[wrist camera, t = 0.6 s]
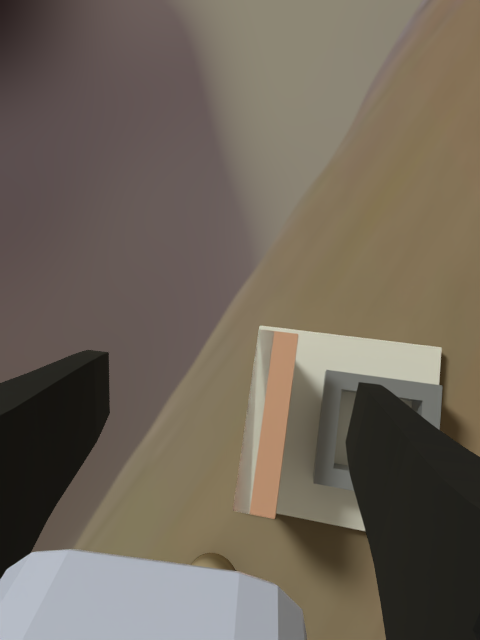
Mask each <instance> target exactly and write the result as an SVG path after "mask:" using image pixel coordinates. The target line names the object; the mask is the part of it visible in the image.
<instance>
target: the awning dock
mask: <svg viewBox="0 0 480 640" xmlns="http://www.w3.org/2000/svg"><path fill="white" fill-rule="evenodd" d="M441 349H442V348H441V347H433V346H425V345H416V344H408V343H400V342H392V341H383V340H375V339H367V338H359V337H350V336H342V335H334V334H325V333H317V332H309V331H301V330H292V329H284V328H276V327H268V326H260V328H259V332H258V339H257V346H256V353H255V360H254V367H253V374H252V381H251V388H250V395H249V402H248V409H247V416H246V423H245V430H244V437H243V444H242V451H241V458H240V464H239V471H238V478H237V485H236V492H235V499H234V506H233V511H237V512H242V513H247V514H252V515H257V516H262V517H267V518H272V519H275V516H276V513H277V514H282V515H287V516H292V517H297V518H302V519H307V520H312V521H317V522H322V523H327V524H332V525H337V526H342V527H347V528H352V529H357V530H362V531H365V527H364V524H363V520H362V517H361V513H360V510H359V506H358V503H357V499H356V495H355V492H354V488H353V485H352V481H351V477H350V473H349V466H348V459H347V451H346V443H345V442H346V437H347V433H348V428H349V424H350V419H351V415H352V410H353V406H354V401H355V397H356V392H357V388H358V383H359V382H363V383H371V384H380V385H382V386H384V387H385V388H387V389H388V390H389V391H391V392H392V393H393V394H394V395H396V396H397V397H398V398H399V399H401V400H402V401H403V402H404V403H406V404H407V405H408V406H409V407H411V408H412V409H413V410H414V411H416V412H417V413H418V414H419V415H421V416H422V417H423V418H424V419H426V420H427V421H428V422H430V423H431V424H432V425H433V426H435V427H436V428H437V429H439V430H440V417H441V402H442V387H443V386H442V385H439V379H440V364H441Z"/></svg>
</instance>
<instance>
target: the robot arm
mask: <svg viewBox="0 0 480 640" xmlns="http://www.w3.org/2000/svg"><path fill="white" fill-rule="evenodd" d="M108 355H109V353H108V352H101V351H93V350H86V351H82V352H79V353H76V354H73V355H71V356H68V357H66V358H64V359H61V360H59V361H56V362H54V363H51V364H49V365H46V366H44V367H42V368H39V369H37V370H34V371H32V372H29V373H27V374H24V375H21V376H19V377H16V378H13V379H10V380H8V381H5V382H2V383H0V640H307V635H306V629H305V623H304V617H303V611H302V609H301V608H300V607H299V606H298V605H297V604H296V603H295V602H294V601H293V600H292V599H291V598H290V597H289V596H288V595H287V594H286V593H285V592H284V591H282V590H281V589H280V588H279V587H278V586H277V585H276V584H274V583H272V582H269V581H266V580H263V579H260V578H257V577H254V576H251V575H248V574H245V573H242V572H239V571H232V570H225V569H217V568H210V567H203V566H195V565H188V564H180V563H173V562H165V561H158V560H151V559H143V558H136V557H128V556H121V555H113V554H106V553H99V552H91V551H84V550H76V549H66V550H52V551H39V552H33V553H31V551H32V549H33V547H34V545H35V543H36V541H37V539H38V537H39V535H40V533H41V531H42V529H43V527H44V525H45V523H46V522H47V520H48V518H49V516H50V515H51V513H52V511H53V509H54V508H55V506H56V504H57V503H58V501H59V500H60V498H61V497H62V495H63V494H64V492H65V490H66V489H67V487H68V486H69V484H70V483H71V481H72V480H73V478H74V476H75V475H76V473H77V472H78V470H79V469H80V467H81V466H82V464H83V463H84V461H85V459H86V458H87V456H88V455H89V453H90V452H91V450H92V448H93V447H94V445H95V443H96V442H97V440H98V438H99V436H100V434H101V432H102V429H103V427H104V425H105V423H106V420H107V418H108V416H109V413H110V409H109V356H108ZM345 443H346V451H347V459H348V466H349V473H350V477H351V481H352V485H353V488H354V492H355V495H356V499H357V503H358V506H359V510H360V513H361V517H362V520H363V524H364V527H365V531H366V534H367V538H368V541H369V545H370V549H371V553H372V557H373V562H374V567H375V572H376V578H377V584H378V590H379V596H380V601H381V608H382V615H383V621H384V628H385V634H386V640H480V457H479V456H477V455H476V454H474V453H472V452H471V451H469V450H468V449H466V448H465V447H463V446H461V445H460V444H459V443H457V442H456V441H454V440H453V439H451V438H450V437H449V436H447V435H446V434H444V433H443V432H442V431H440V430H439V429H437V428H436V427H435V426H433V425H432V424H431V423H430V422H428V421H427V420H426V419H424V418H423V417H422V416H421V415H419V414H418V413H417V412H416V411H414V410H413V409H412V408H411V407H409V406H408V405H407V404H406V403H404V402H403V401H402V400H401V399H399V398H398V397H397V396H396V395H394V394H393V393H392V392H391V391H389V390H388V389H387V388H385V387H384V386H382V385H380V384H371V383H363V382H359V383H358V388H357V392H356V397H355V401H354V406H353V410H352V415H351V419H350V424H349V428H348V433H347V437H346V442H345Z"/></svg>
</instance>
